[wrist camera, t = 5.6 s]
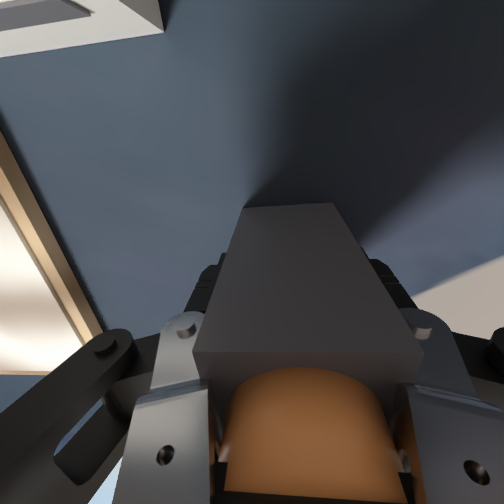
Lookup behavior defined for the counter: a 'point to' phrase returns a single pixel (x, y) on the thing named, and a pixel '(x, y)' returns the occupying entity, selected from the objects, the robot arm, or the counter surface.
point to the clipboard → (35, 284)
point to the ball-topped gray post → (305, 359)
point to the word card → (73, 23)
